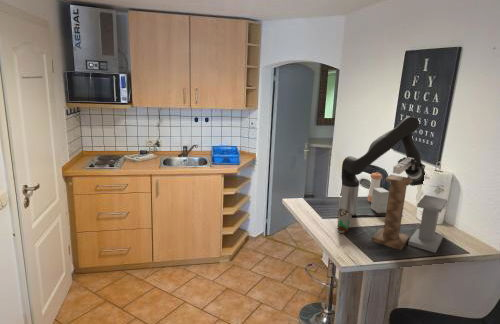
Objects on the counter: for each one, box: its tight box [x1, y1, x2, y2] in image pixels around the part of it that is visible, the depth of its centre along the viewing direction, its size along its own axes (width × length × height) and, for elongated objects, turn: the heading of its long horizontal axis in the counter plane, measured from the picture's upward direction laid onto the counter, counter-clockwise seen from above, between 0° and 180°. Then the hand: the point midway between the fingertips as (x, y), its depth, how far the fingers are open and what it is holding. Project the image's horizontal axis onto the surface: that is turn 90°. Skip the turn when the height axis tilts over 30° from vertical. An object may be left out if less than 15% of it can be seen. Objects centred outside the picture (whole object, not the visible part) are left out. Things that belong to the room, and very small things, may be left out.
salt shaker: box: [367, 171, 383, 203], centre depth 221 cm, size 7×7×19 cm
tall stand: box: [371, 174, 413, 251], centre depth 167 cm, size 14×14×32 cm
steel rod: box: [392, 156, 414, 175], centre depth 165 cm, size 3×24×3 cm, turn 142°
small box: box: [370, 187, 389, 214], centre depth 206 cm, size 8×6×13 cm
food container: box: [337, 207, 353, 235], centre depth 179 cm, size 12×6×10 cm, turn 168°
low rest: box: [407, 194, 448, 254], centre depth 168 cm, size 12×18×21 cm, turn 142°
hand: (408, 159), depth 170 cm, fingers closed on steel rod, 3 cm apart
